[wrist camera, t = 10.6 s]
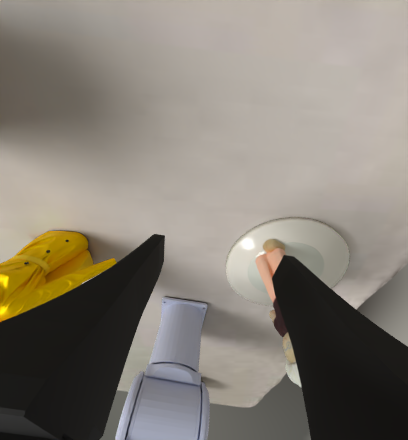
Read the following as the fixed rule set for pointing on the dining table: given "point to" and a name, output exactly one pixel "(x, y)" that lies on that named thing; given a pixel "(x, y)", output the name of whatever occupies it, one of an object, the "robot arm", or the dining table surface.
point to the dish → (294, 246)
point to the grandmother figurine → (267, 269)
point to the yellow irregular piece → (46, 271)
